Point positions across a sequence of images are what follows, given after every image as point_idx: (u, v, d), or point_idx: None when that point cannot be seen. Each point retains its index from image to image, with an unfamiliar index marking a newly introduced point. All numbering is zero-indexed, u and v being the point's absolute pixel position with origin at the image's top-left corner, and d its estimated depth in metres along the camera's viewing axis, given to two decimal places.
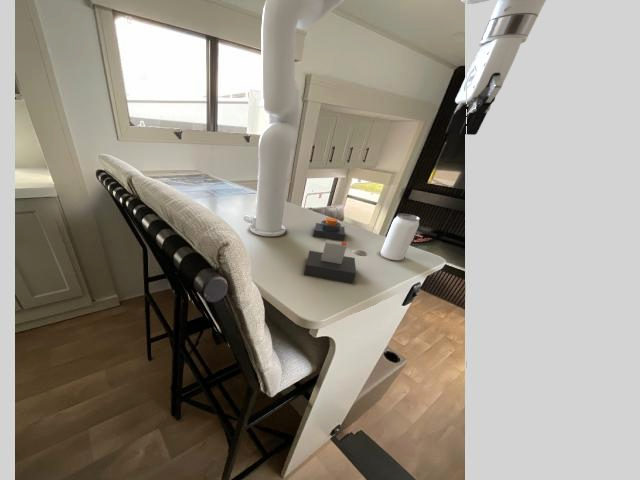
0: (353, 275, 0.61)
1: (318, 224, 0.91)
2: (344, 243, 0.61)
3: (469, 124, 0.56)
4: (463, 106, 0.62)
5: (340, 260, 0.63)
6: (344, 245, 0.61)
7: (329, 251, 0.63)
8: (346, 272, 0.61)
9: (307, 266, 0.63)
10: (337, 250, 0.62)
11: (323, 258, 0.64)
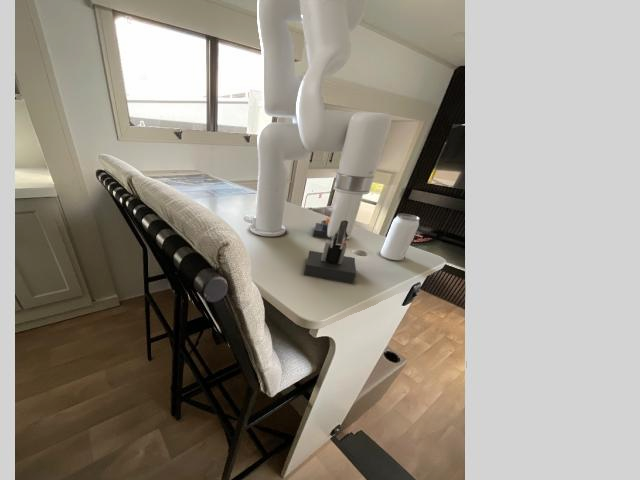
0: (353, 275, 0.61)
1: (318, 224, 0.91)
2: (344, 243, 0.62)
3: (330, 256, 0.62)
4: None
5: (340, 260, 0.63)
6: (344, 245, 0.61)
7: None
8: (346, 272, 0.61)
9: (307, 266, 0.63)
10: None
11: (323, 258, 0.64)
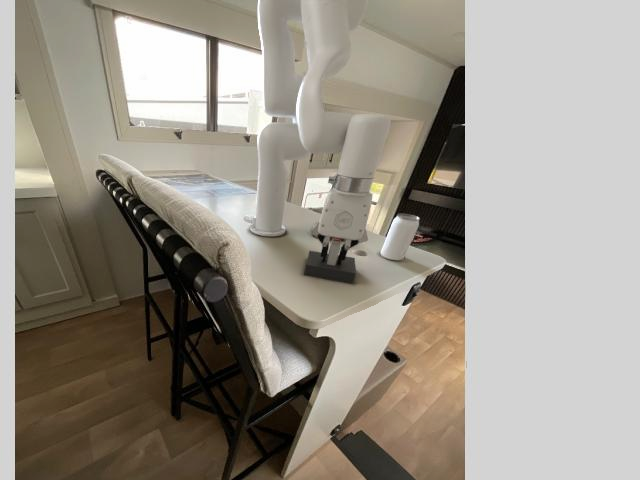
0: (353, 275, 0.61)
1: None
2: (337, 239, 0.64)
3: (344, 257, 0.63)
4: None
5: None
6: None
7: None
8: (346, 272, 0.61)
9: (307, 266, 0.63)
10: None
11: (335, 261, 0.63)
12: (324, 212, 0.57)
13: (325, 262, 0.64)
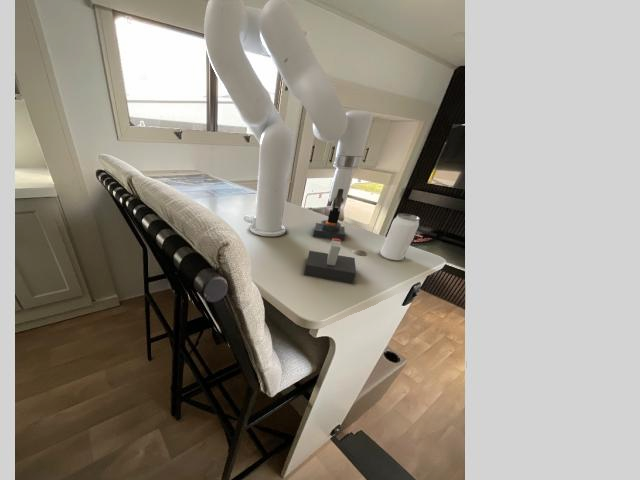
0: (353, 275, 0.61)
1: (318, 224, 0.91)
2: (337, 239, 0.64)
3: (331, 217, 0.84)
4: None
5: None
6: None
7: None
8: (346, 272, 0.61)
9: (307, 266, 0.63)
10: None
11: (335, 261, 0.63)
12: None
13: (325, 262, 0.64)
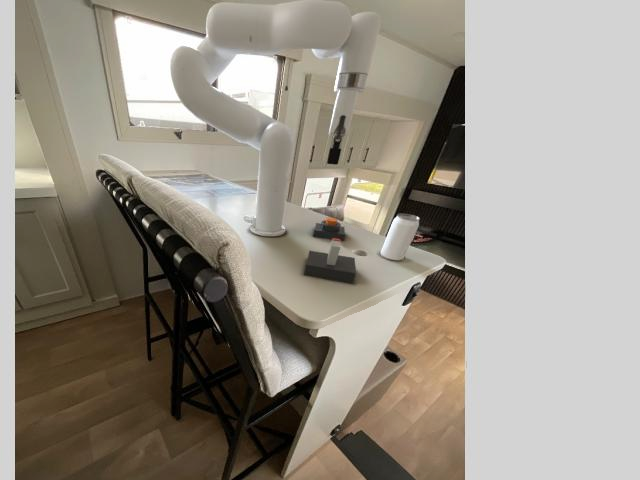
0: (353, 275, 0.61)
1: (318, 224, 0.91)
2: (337, 239, 0.64)
3: (331, 157, 0.74)
4: None
5: None
6: None
7: None
8: (346, 272, 0.61)
9: (307, 266, 0.63)
10: None
11: (335, 261, 0.63)
12: None
13: (325, 262, 0.64)
